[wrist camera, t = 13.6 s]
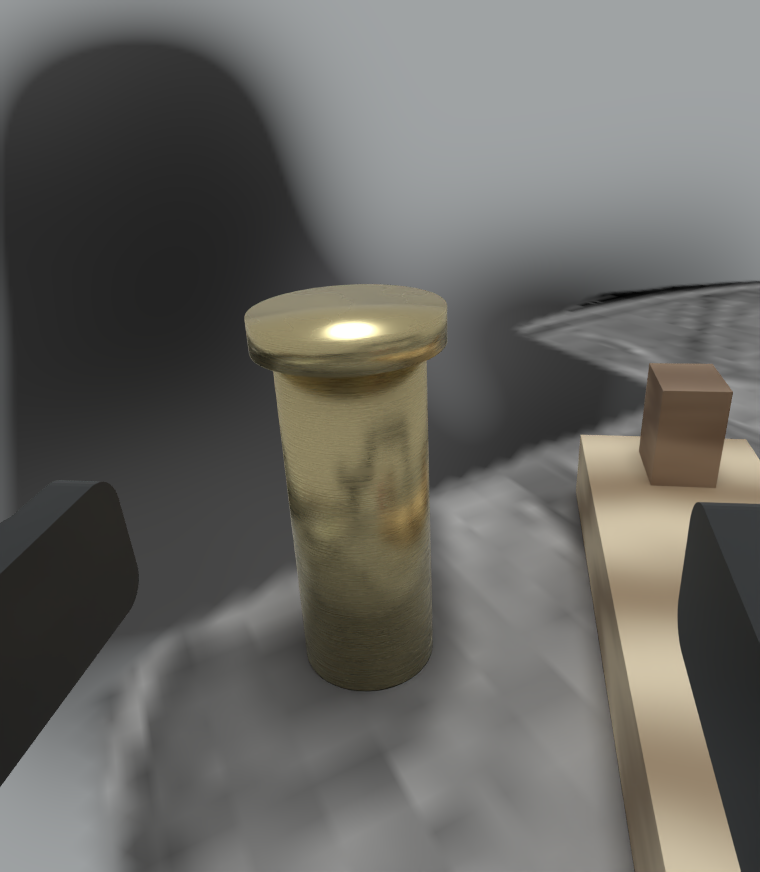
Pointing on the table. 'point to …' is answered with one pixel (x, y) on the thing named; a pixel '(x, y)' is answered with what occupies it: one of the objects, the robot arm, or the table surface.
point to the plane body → (660, 606)
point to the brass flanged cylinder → (357, 469)
